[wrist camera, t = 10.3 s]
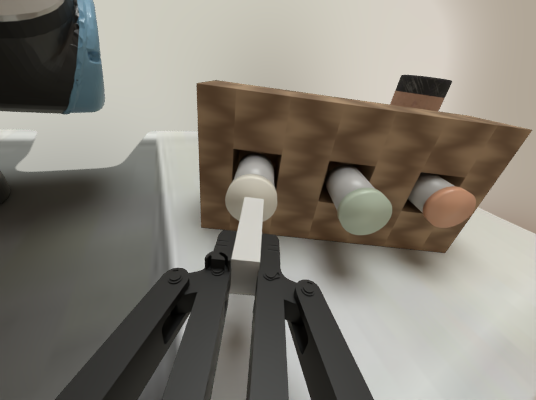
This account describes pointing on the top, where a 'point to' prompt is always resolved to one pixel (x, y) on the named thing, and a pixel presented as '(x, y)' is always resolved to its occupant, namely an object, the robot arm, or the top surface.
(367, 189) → the sage button
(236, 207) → the cream button
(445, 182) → the terracotta button
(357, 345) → the top surface
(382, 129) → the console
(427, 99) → the travel mug
